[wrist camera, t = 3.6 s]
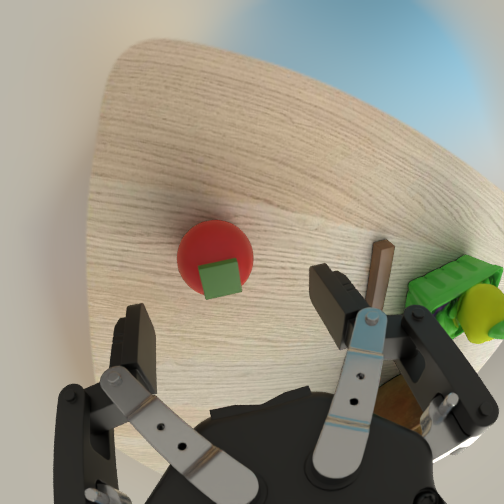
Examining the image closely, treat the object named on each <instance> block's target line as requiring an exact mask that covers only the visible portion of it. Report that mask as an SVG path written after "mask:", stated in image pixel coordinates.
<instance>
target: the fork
mask: <svg viewBox="0 0 504 504" xmlns="http://www.w3.org/2000/svg"><path fill="white" fill-rule="evenodd" d="M394 249H395V246H394V245H393V244H392V243H391V242H389V241H388V240H387V239H386V240H382V241H378V242H374V244H373V252H372V260H371V267H370V274H369V280H368V287H367V293H366V299H365V300H366V302H367V303H368V304H369V306H370V307H373V308H377V309H380V310H382V309H383V305H384V301H385V296H386V291H387V287H388V282H389V277H390V272H391V266H392V261H393V255H394Z"/></svg>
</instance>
